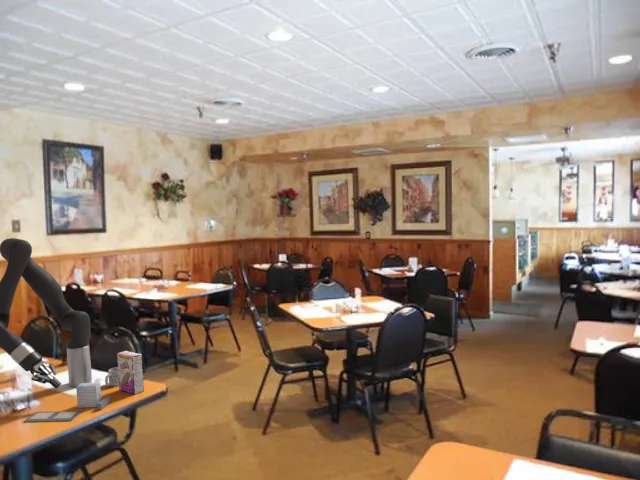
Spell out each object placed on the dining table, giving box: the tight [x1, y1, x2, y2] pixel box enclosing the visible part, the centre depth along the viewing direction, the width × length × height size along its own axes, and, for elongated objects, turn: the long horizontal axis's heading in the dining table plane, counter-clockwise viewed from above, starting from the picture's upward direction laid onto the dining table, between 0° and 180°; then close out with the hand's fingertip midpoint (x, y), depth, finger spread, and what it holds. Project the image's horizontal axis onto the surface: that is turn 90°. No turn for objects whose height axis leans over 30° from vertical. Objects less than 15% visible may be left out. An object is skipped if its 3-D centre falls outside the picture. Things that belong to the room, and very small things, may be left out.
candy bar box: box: [116, 350, 145, 395], centre depth 213 cm, size 11×5×16 cm, turn 56°
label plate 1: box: [23, 410, 60, 423], centre depth 188 cm, size 8×9×1 cm
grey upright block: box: [75, 382, 103, 409], centre depth 198 cm, size 8×4×9 cm, turn 91°
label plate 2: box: [47, 410, 83, 422], centre depth 188 cm, size 8×9×1 cm
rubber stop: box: [96, 395, 111, 411], centre depth 197 cm, size 8×2×2 cm, turn 178°
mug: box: [104, 366, 119, 387], centre depth 221 cm, size 10×7×7 cm
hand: (58, 386), depth 199 cm, fingers closed
